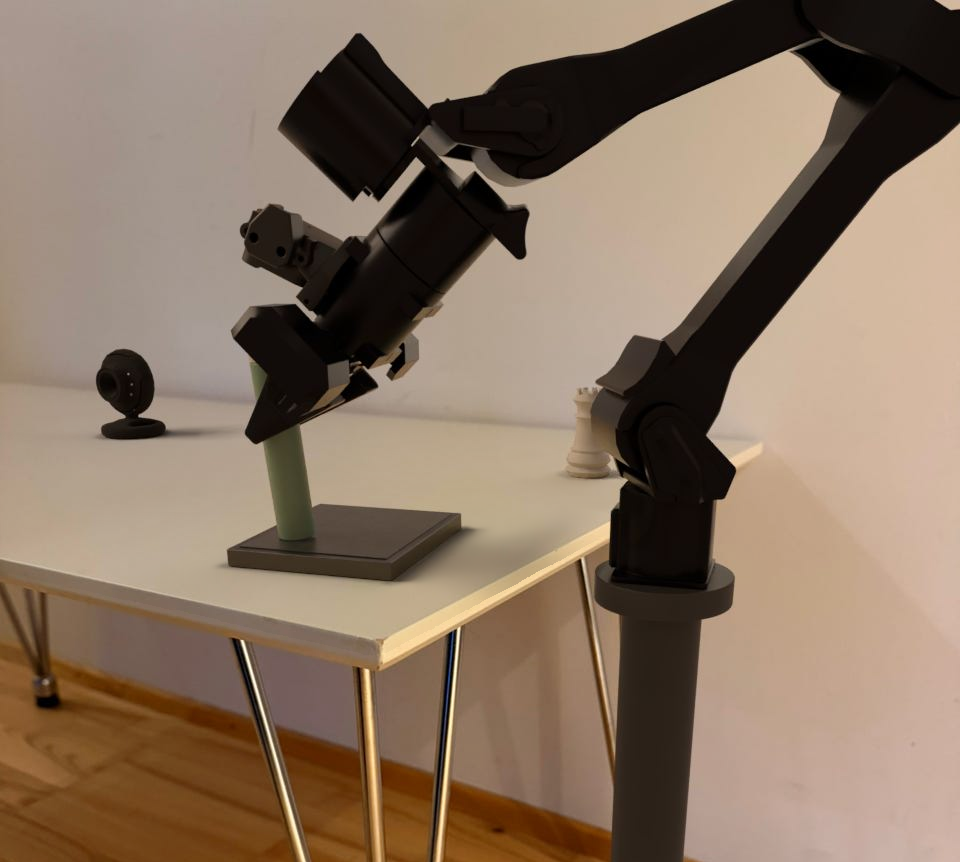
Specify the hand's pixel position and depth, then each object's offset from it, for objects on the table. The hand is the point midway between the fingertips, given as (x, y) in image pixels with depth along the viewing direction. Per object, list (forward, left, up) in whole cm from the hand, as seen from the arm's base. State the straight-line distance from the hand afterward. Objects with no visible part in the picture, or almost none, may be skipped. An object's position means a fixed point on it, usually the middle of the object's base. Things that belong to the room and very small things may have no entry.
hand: (260, 435), depth 66 cm
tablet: (-5, -4, -8) cm, 10 cm away
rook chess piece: (-16, -34, -9) cm, 38 cm away
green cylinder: (-2, -1, -7) cm, 7 cm away
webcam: (+42, -43, -9) cm, 61 cm away
